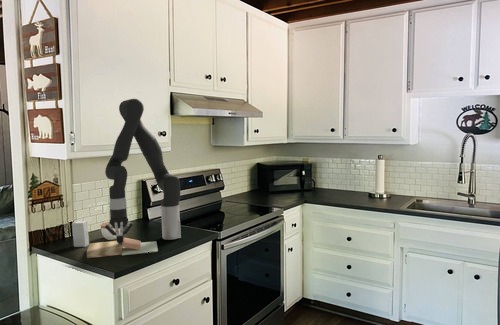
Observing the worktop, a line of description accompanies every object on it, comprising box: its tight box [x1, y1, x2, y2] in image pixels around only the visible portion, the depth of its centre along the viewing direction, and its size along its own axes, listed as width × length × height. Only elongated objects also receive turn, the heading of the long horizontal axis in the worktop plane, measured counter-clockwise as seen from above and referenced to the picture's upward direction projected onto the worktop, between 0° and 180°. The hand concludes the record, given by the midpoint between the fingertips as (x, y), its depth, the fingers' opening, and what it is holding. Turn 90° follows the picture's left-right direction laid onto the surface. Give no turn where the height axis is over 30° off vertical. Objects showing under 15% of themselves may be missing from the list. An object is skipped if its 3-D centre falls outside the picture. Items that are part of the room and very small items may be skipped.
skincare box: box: [71, 220, 90, 248], centre depth 195 cm, size 6×4×12 cm
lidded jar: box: [100, 221, 120, 241], centre depth 208 cm, size 11×11×9 cm
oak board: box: [86, 240, 123, 259], centre depth 185 cm, size 15×13×3 cm
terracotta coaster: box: [122, 236, 142, 250], centre depth 188 cm, size 8×8×2 cm
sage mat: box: [121, 241, 159, 256], centre depth 189 cm, size 16×16×1 cm
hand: (120, 243), depth 187 cm, fingers closed
